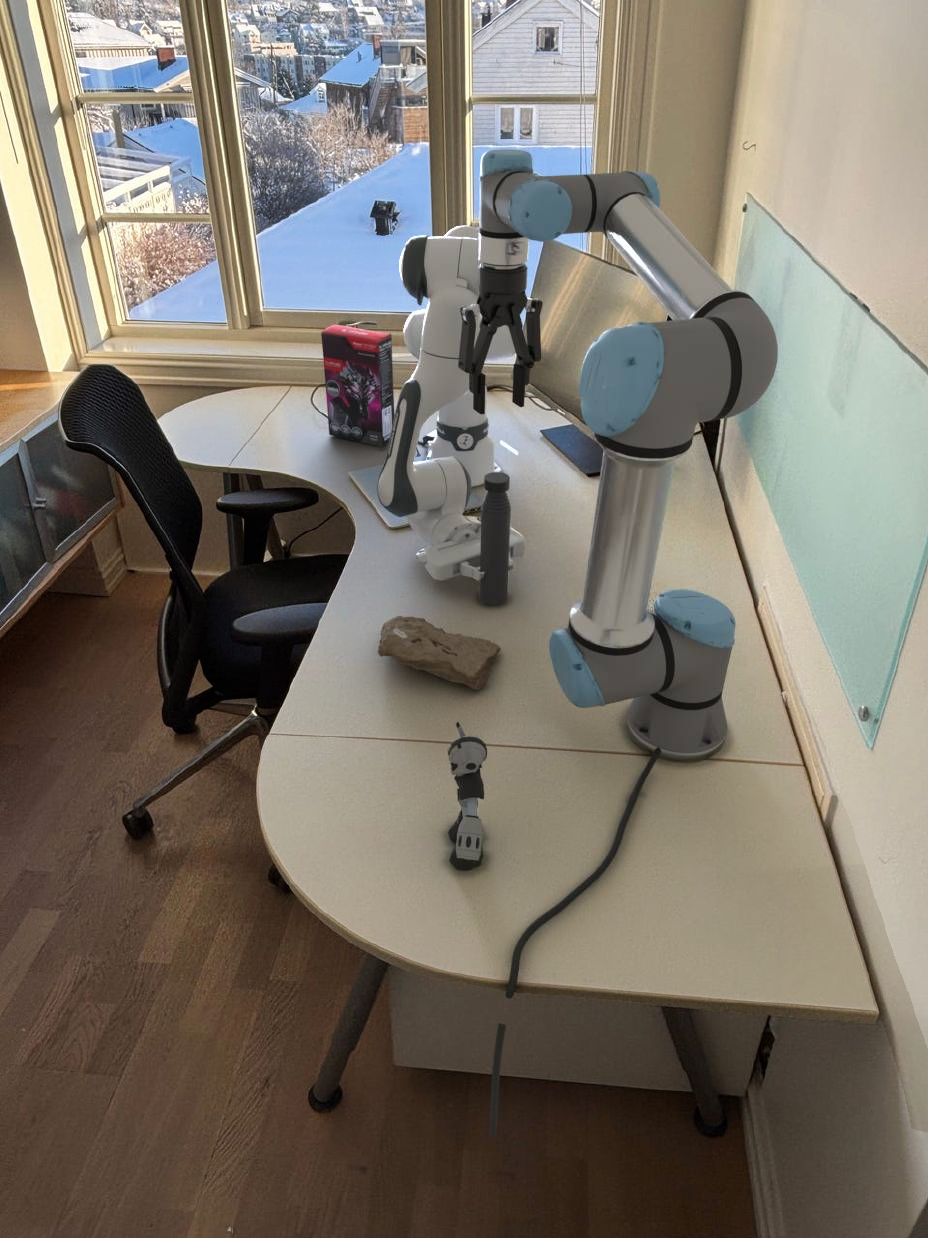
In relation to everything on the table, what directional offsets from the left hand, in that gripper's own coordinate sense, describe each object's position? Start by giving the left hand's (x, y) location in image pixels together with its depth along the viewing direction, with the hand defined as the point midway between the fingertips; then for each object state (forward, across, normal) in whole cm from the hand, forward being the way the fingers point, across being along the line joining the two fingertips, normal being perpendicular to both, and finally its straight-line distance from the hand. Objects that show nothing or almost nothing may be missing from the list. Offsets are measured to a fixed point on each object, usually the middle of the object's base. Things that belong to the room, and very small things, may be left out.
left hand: (497, 571), depth 170 cm
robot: (+49, -36, +7) cm, 61 cm away
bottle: (-1, 0, +6) cm, 7 cm away
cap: (-1, 0, -18) cm, 18 cm away
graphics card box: (-83, +12, +6) cm, 84 cm away
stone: (+11, -20, +7) cm, 24 cm away
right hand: (-1, 0, -31) cm, 31 cm away
